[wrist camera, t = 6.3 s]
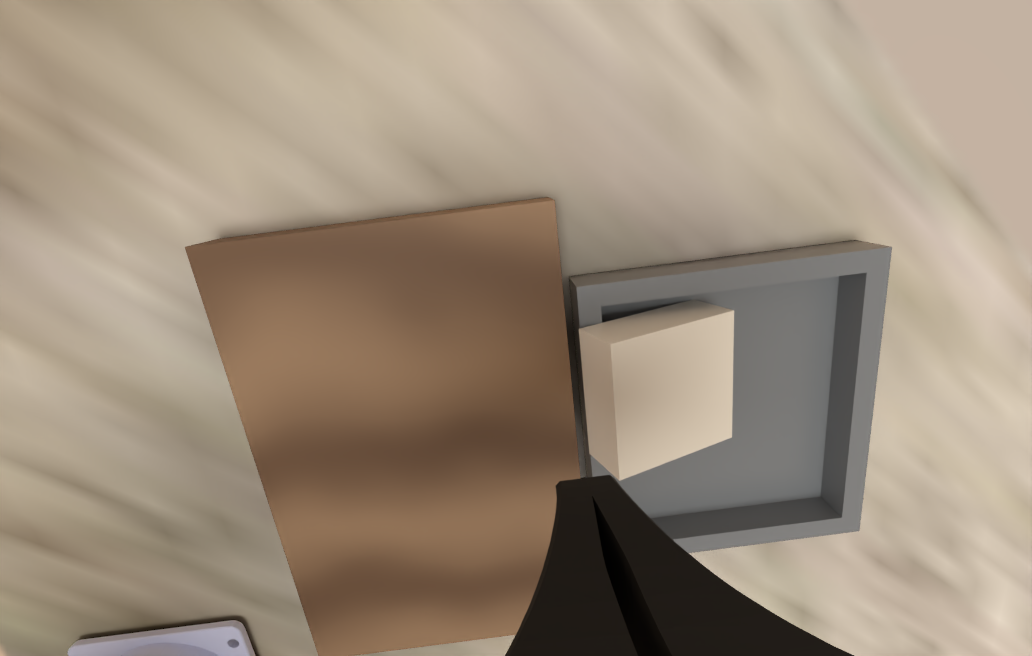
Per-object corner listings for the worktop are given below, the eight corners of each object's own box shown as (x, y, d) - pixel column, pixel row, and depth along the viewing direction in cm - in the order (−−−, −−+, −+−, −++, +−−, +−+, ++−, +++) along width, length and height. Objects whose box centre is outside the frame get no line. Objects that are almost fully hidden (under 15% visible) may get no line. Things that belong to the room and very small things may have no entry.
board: (585, 587, 23) (594, 624, 21) (334, 619, 23) (319, 659, 21) (548, 197, 18) (554, 200, 16) (218, 239, 18) (184, 247, 16)
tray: (831, 503, 22) (859, 531, 21) (591, 534, 22) (600, 564, 21) (855, 240, 19) (891, 247, 17) (569, 276, 19) (576, 287, 17)
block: (694, 416, 20) (732, 437, 18) (589, 453, 19) (619, 480, 17) (693, 299, 19) (734, 310, 17) (578, 328, 17) (610, 344, 15)
